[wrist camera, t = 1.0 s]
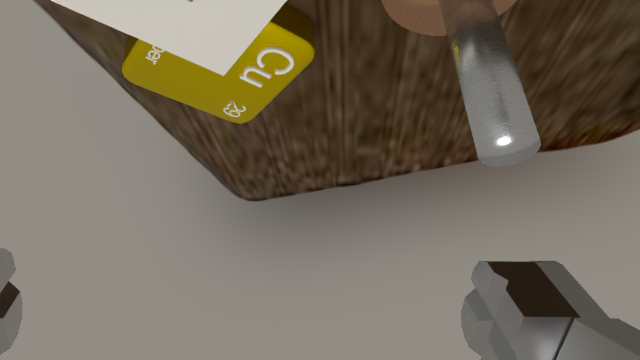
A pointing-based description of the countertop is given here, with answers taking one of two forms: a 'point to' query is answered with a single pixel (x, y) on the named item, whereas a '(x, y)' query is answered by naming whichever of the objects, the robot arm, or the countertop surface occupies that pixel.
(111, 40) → the countertop surface
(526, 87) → the countertop surface
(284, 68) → the element tile
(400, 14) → the peg
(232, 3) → the slotted white pedestal
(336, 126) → the countertop surface
